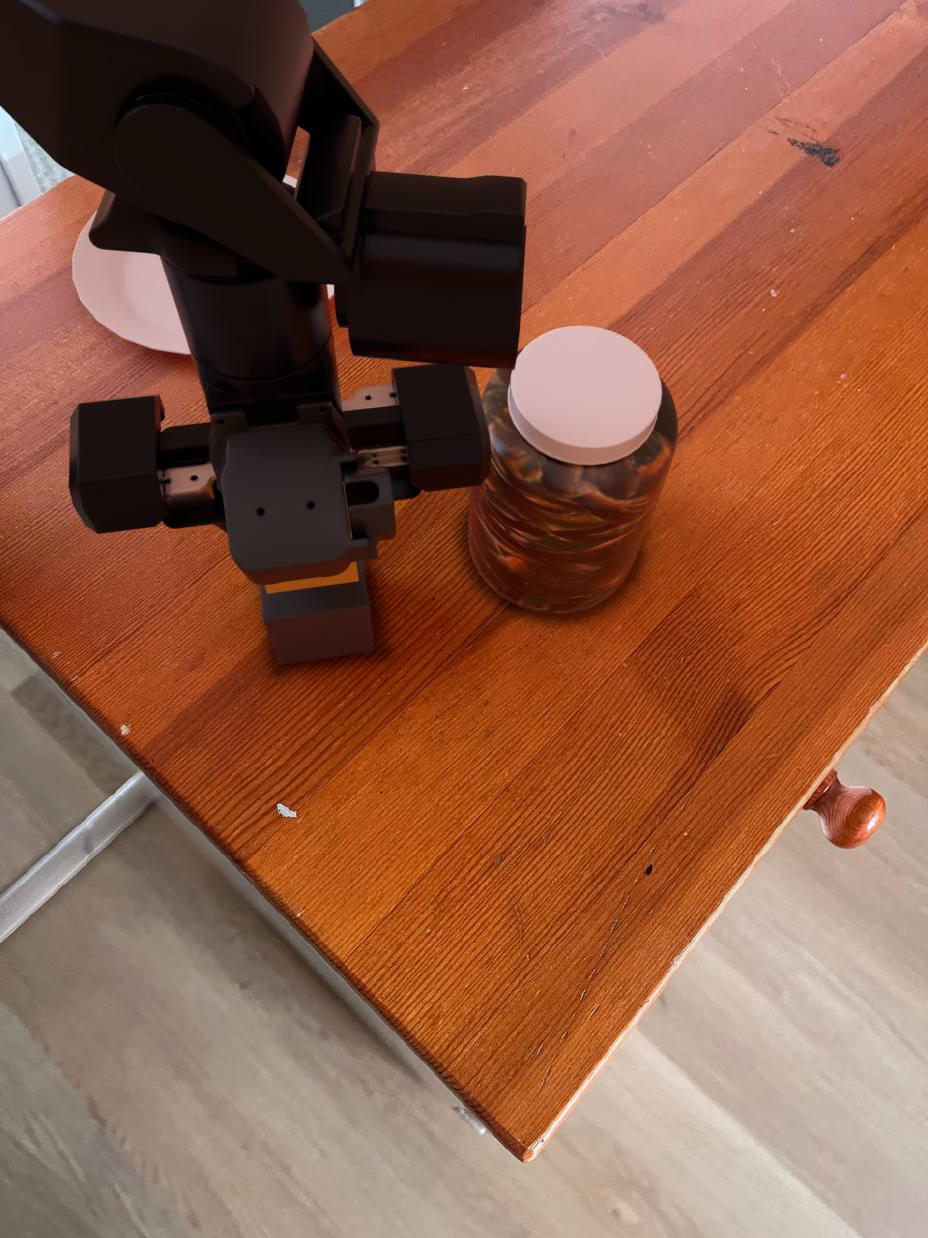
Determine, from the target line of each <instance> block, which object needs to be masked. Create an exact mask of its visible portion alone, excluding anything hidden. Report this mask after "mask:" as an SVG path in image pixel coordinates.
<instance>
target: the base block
mask: <svg viewBox="0 0 928 1238" xmlns="http://www.w3.org/2000/svg"><path fill="white" fill-rule="evenodd" d="M356 563H357V571H358V578H359V581H356V582H349V583H342V584H334V585H327V586H320V587H313V588H305V589H298V590H291V591H284V592H276V593H269V594H268V593H267V591H266V588H265V585H259V589H260V597H261V601H260V602H261V610H262V612H261V613H262V622H263V624H264V627H265V630H266V632H267V635H268V639H269V641H270V644H271V648H272V649H273V650H272V651H273V652H274V655H275V658H276V661H277V664H278V665H279V666H283V665H289V664H296V663H303V662H309V661H317V660H322V659H323V660H324V659H331V658H337V657H343V656H345V657H346V656H350V655H358V654H364V653H372V652H375V651H376V647H375V640H374V631H373V624H372V623H373V622H372V616H371V615H372V614H371V606H370V599H369V591H368V585H367V578H366V573H365V566H364V561H357V562H356Z"/></svg>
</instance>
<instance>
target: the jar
mask: <svg viewBox="0 0 928 1238" xmlns="http://www.w3.org/2000/svg"><path fill="white" fill-rule="evenodd" d="M481 400H482V404H483V408H484V412H485V416H486V420H487V425H488V429H489V433H490V439H491V450H492V457H491V467H490V475H489V476H488V477H487V478H486V480H485V481H484V482H483V483H482V484H481V485H480V486H472V487H470V491H469V492H470V493H469V502H468V503H469V505H468V520H467V541H468V548H469V553H470V556H471V559H472V561H473V565H474V567H475V568H476V570H477V572H478V573H479V575H480V577H481V578H482V579H483V580H484V582H485V584H487V586H488V587H489V588H491V589H492V590H493V592H495V594H497V595H498V596H500V597H501V598H502V599H504V600H505V601H506V602H508V603H511V604H512V605H514V606H516V607H518V608H521V609H524V610H527V611H530V612H533V613H538V614H544V615H570V614H575V613H579V612H584V611H586V610H589V609H591V608H593V607H596V606H597V605H599V604H601V603H603V602H605V600H607V599H609V598H610V597H611V596H612V595H613V594H615V592H616V591H617V590H618V589H619V588H620V587H621V586H622V584H623V583H624V582H625V580H626V578H627V577H628V576H629V574H630V573H631V570H632V567H633V565H634V563H635V560H636V558H637V556H638V553H639V551H640V548H641V547H642V544H643V541H644V539H645V537H646V534H647V531H648V528H649V526H650V523H651V520H652V518H653V515H654V513H655V510H656V508H657V505H658V502H659V500H660V497H661V495H662V492H663V489H664V487H665V484H666V481H667V478H668V475H669V472H670V469H671V466H672V463H673V459H674V456H675V452H676V448H677V442H678V437H679V436H678V435H679V419H678V411H677V408H676V404H675V401H674V399H673V396H672V394H671V391H670V389H669V388H668V386H667V384H666V383H665V381H664V380H663V378H662V377H661V375H660V374H659V371H658V369H657V367H656V366H655V363H654V362H653V360H652V359H651V358H650V357H649V355H648V354H647V353H646V352H645V351H644V350H643V349H642V348H641V347H640V346H639V345H638V344H636V343H635V342H634V341H632V340H631V339H629V338H628V337H626V336H623V334H622V335H621V334H620V333H618V332H615V331H612V330H609V329H606V328H602V327H597V326H591V325H571V326H569V325H568V326H562V327H558V328H555V329H551V330H549V331H546V332H544V333H542V334H541V335H538V336H537V337H536V338H534V339H532V340H531V341H530V342H529V343H527V345H525V346H524V347H522V348H520V349H518V352H517V360H516V366H515V370H505V369H496V370H495V371H494V372H493V374H492V375H491V376H490V378H489V379H488V381H487V384H486V385H485V387H484V390H483V393H482V396H481Z"/></svg>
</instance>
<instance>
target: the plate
mask: <svg viewBox="0 0 928 1238" xmlns="http://www.w3.org/2000/svg"><path fill="white" fill-rule="evenodd" d="M297 179H298V178H295V177H293V176H291V175H289V174H288V175H287V174H286V175H285V178H284V180H283V182H285V183H287V184H289V185H291V186H293V187H295V188H296V184H297ZM96 213H97V210H96V211H95V212H94V213H93V214H92V216H91V217H90V219H89V220H88V221H87V223H86V224H85V225H84V227H82V230H80V233H79V236H78V239H77V240H76V244H75V247H74V250H73V252H72V282H73V283H74V287H75V289H76V292H77V295H78V297H79V301H80V302H81V304H82V305H83V306H84V307H85V308H86V309H87V311H88V312H89V313H90V314H91V315H92V317H93V318H94V319H95V320H96V322H98V323H99V324H100V325H102V326H103V327H104V328H107V329H108V330H109V331H111V332H112V333H114V334H115V335H117V336H119V338H122V339H123V340H126V341H129V342H132V343H134V344H137V345H140V346H142V347H145V348H148V349H150V350H155V351H161V352H167V353H173V354H180V355H185V356H188V355H189V356H191V353H190V350H189V347H188V344H187V340H186V337H185V334H184V331H183V328H182V325H181V322H180V318H179V315H178V312H177V309H176V306H175V303H174V300H173V297H172V294H171V290H170V287H169V284H168V281H167V278H166V275H165V272H164V269H163V266H162V262H161V259H160V256H159V255H156V254H149V253H137V252H125V251H113V250H102V249H99V248H97V247H95V246H94V245H92V243H91V242H90V240H89V237H88V233H89V230H90V228H91V225H92V223H93V220H94V218H95V215H96ZM327 289H328V297H329V301H330V300H331V299H332V298H334V285H328V284H327Z"/></svg>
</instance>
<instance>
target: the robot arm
mask: <svg viewBox="0 0 928 1238" xmlns="http://www.w3.org/2000/svg"><path fill="white" fill-rule="evenodd" d="M0 108H1V109H2V110H3V111H4V112H5V113H6V114H8V116H10V118H12V120H13V121H14V122H15V123H16V124H17V125H19V127H20V128H21V129H23V130H22V131H24V132H25V133H26V134H27V135H28V136H29V137H30V138H31V139H32V140H33V141H34V142H35V143H36V144H37V145H38V146H39V147H40V148H41V150H42V151H44V152H45V153H46V154H47V155H48V156H49V157H50V158H51V159H52V160H53V162H55V163H56V164H58V165H59V166H60V167H62V168H63V169H65V170H66V171H68V172H70V173H72V174H74V175H76V176H78V177H80V178H82V179H84V180H87V181H88V182H90V183H91V184H94V185H96V186H98V187H100V188H102V189H104V193H103V195H102V198H101V199H100V203H99V206H98V208H97V210H96V211H97V213H96V215H95V218H94V220H93V223H92V225H91V228H90V230H89V233H88V237H89V240H90V242H91V243H92V245H94V246H95V247H97V248H99V249H102V250H113V251H125V252H137V253H149V254H156V255H159V256H160V259H161V262H162V266H163V269H164V272H165V275H166V278H167V281H168V284H169V287H170V290H171V294H172V297H173V300H174V303H175V306H176V309H177V312H178V315H179V318H180V322H181V325H182V328H183V331H184V334H185V337H186V340H187V344H188V347H189V350H190V353H191V355H190V356H191V359H192V362H193V365H194V368H195V372H196V374H197V375H196V376H197V378H198V381H199V384H200V386H201V387H200V388H201V390H202V394H203V396H204V400H205V403H206V404H205V405H206V408H207V411H208V415H209V419H210V421H206V422H198V423H197V422H196V423H188V424H179V425H171V426H167V427H166V428H164V429H163V430H162V422H163V421H165V419H166V408H165V405H164V403H163V400H162V398H161V395H160V393H153V394H145V395H144V394H143V395H136V396H125V397H117V398H107V399H100V400H91V401H89V400H88V401H84V402H80V403H78V404H77V405H76V407H75V409H74V410H73V412H72V414H71V415H70V417H69V446H68V447H69V448H68V449H69V451H68V452H69V453H68V456H69V457H68V490H69V494H70V498H71V499H70V500H71V503H72V506H73V508H74V510H75V511H76V513H77V514H78V517H80V519H81V521H82V524H84V526H85V527H87V528H88V529H89V530H91V531H93V532H94V533H95V534H97V535H104V534H111V533H118V532H126V531H134V530H135V531H136V530H142V529H149V528H157V526H158V525H160V524H161V523H163V525H164V526H166V527H167V528H169V529H172V530H180V529H187V528H196V527H202V526H203V527H204V526H210V525H211V526H212V525H213V526H215V527H217V528H218V529H220V530H221V531H223V532H224V533H226V534H227V541H228V549H229V554H230V557H231V559H232V561H233V563H234V564H235V565H236V566H237V567H238V569H239V570H240V571H241V572H242V574H243V575H244V576H245V578H246V579H247V580H249V581H250V582H251V583H253V584H254V585H255V584H256V585H259V586H260V585H272V584H278V583H281V582H288V581H295V580H302V579H310V578H317V577H331V576H336V575H339V574H341V573H343V572H344V571H345V570H346V569H347V568H348V567H349V566H350V564H351V562H357V561H363V562H364V561H370V560H378V559H379V556H378V547H377V545H378V543H380V542H382V541H391V540H394V539H395V538H396V536H397V520H396V509H395V502H399V501H407V500H413V499H415V498H417V497H419V496H420V495H421V493H422V491H424V492H426V493H433V492H440V491H441V492H442V491H449V490H455V489H463V488H471V487H472V486H480V485H481V484H482V483H483V482H484V481H485V480H486V478H487V477H488V476H489V475H490V467H491V457H492V450H491V439H490V433H489V429H488V425H487V420H486V416H485V412H484V408H483V404H482V396H481V393H480V388H479V383H478V380H477V376H476V372H475V371H474V369H472V368H485V369H493V370H495V369H496V370H497V369H505V370H515V366H516V360H517V352H518V351H519V344H520V336H521V335H520V334H521V320H522V306H523V291H524V290H523V289H524V276H525V272H524V271H525V258H526V244H527V243H526V241H527V229H528V228H527V227H528V225H527V224H525V222H526V212H527V211H526V210H527V194H528V193H527V192H528V182H527V181H525V179H524V178H523V177H518V176H506V175H495V174H494V175H493V174H491V175H489V174H485V175H479V176H471V177H456V176H455V177H454V176H444V175H443V176H441V175H429V174H417V173H408V172H407V173H405V172H393V171H380V170H377V164H376V162H377V161H376V149H377V145H378V140H379V134H380V129H381V124H380V123H381V122H380V119H378V117H377V116H376V114H375V113H374V112H373V111H372V110H371V108H370V107H369V106H368V104H367V103H366V102H365V100H364V99H363V98H362V97H361V96H360V95H359V93H358V92H357V91H356V90H355V88H354V87H353V86H352V84H351V83H350V82H349V80H348V79H347V77H345V76H344V74H343V73H342V72H341V70H340V69H339V68H338V67H337V65H336V64H335V63H334V61H333V60H332V59H331V58H330V56H329V55H328V54H327V53H326V51H325V49H323V48H322V46H321V44H320V43H319V42H318V41H317V39H315V37H314V36H313V35H312V31H311V27H310V21H309V18H308V14H307V12H306V11H305V9H304V7H303V5H302V3H301V1H300V0H0ZM298 128H300V129H301V130H303V131H305V132H306V133H307V134H308V135H307V139H306V143H305V147H304V151H303V156H302V159H301V163H300V168H299V172H298V175H297V178H296V179H297V184H296V188H295V187H293V186H291V185H289V184H287V183H285V182H283V180H284V178H285V175H287V171H288V166H289V162H290V159H291V154H292V152H293V147H294V144H295V139H296V135H297V131H298ZM327 284H328V285H334V295H333V302H334V303H333V304H334V312H335V313H334V314H335V318H336V324H337V326H338V327H339V328H340V329H347V334H348V336H347V337H348V342H349V347H350V351H351V354H352V356H353V357H357V358H366V359H373V360H374V359H375V360H384V361H385V360H386V361H398V362H410V363H422V364H416V365H405V366H395V367H390V381H391V383H388V384H387V383H386V384H378V385H368V386H363V387H361V388H359V389H358V390H356V391H355V393H354V395H353V396H352V398H350V399H344V400H342V395H341V386H340V378H339V371H338V362H337V355H336V346H335V338H334V331H333V322H332V314H331V306H330V300H329V297H328V289H327ZM343 482H344V484H343ZM344 486H345V491H344ZM345 493H346V497H345ZM346 500H347V504H346ZM347 507H348V511H347ZM348 513H349V518H348ZM349 520H350V525H349ZM350 527H351V532H350ZM351 534H352V538H351Z"/></svg>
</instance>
